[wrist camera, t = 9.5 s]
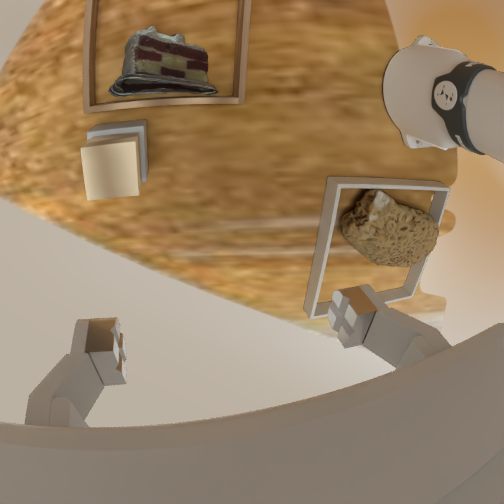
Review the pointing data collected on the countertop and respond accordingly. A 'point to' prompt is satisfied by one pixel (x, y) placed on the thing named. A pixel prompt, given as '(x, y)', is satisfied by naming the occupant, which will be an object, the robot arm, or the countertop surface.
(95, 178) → the maple block
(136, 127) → the slate block
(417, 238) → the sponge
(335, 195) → the grey square frame
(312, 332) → the countertop surface
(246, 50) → the oak cake frame
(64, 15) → the countertop surface
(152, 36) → the chocolate cake
